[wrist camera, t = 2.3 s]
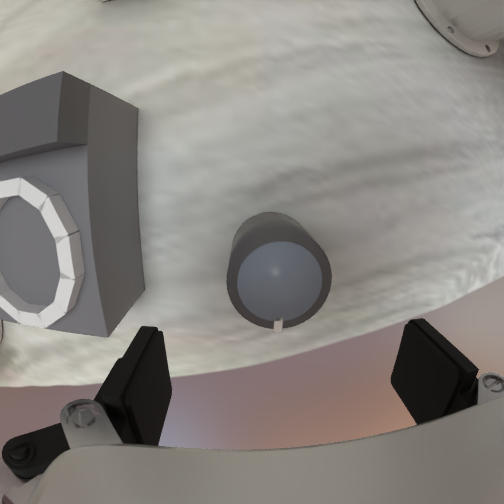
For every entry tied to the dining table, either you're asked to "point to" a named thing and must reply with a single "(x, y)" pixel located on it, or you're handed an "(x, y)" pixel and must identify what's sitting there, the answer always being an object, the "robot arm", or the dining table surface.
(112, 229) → the camera body
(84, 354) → the dining table surface
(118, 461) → the robot arm
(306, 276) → the lens
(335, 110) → the dining table surface
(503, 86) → the dining table surface
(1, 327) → the utensil holder
